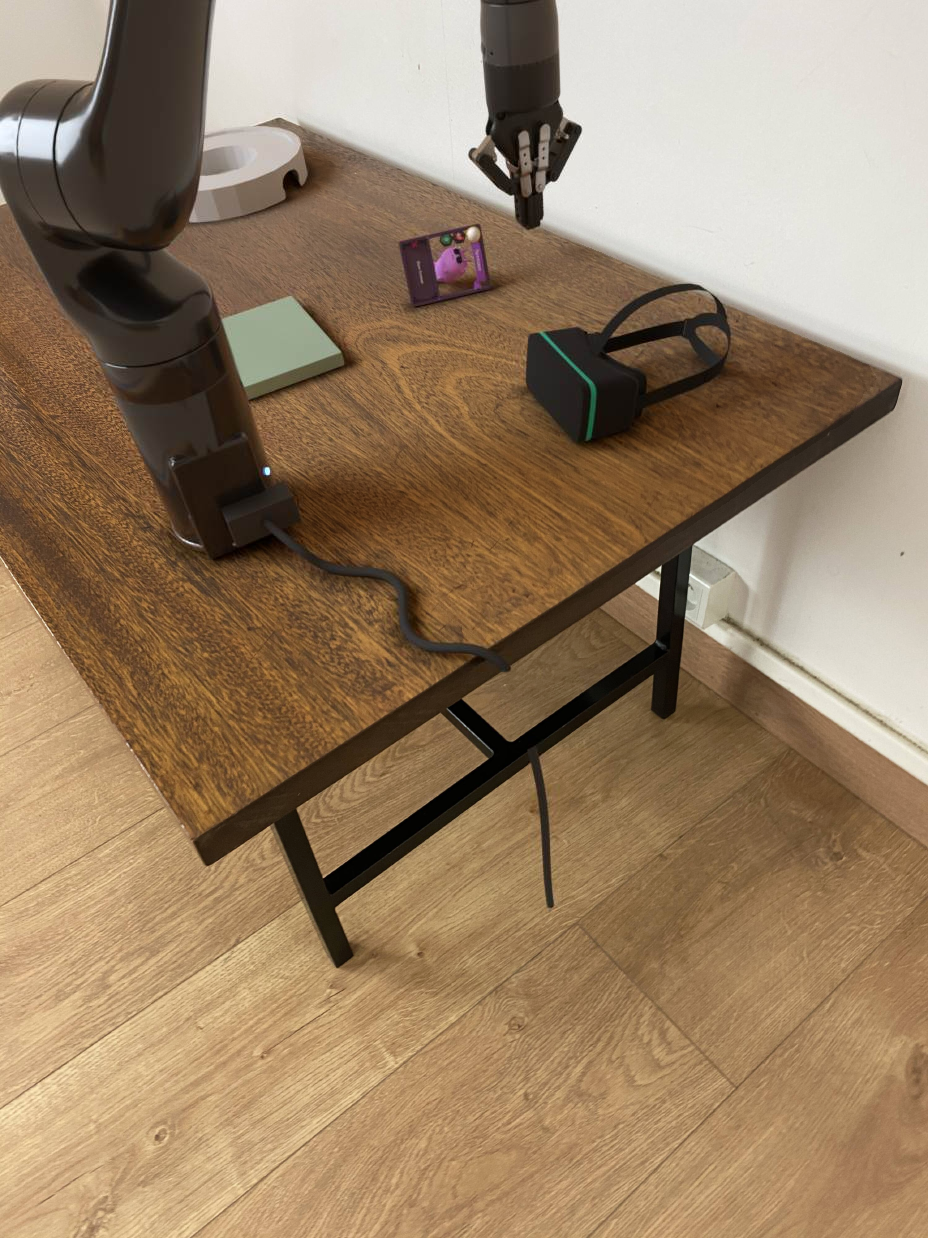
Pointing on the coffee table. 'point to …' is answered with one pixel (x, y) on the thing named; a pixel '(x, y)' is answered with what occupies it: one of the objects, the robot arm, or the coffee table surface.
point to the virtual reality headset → (611, 369)
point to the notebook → (279, 346)
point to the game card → (442, 264)
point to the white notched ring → (245, 171)
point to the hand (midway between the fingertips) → (530, 225)
